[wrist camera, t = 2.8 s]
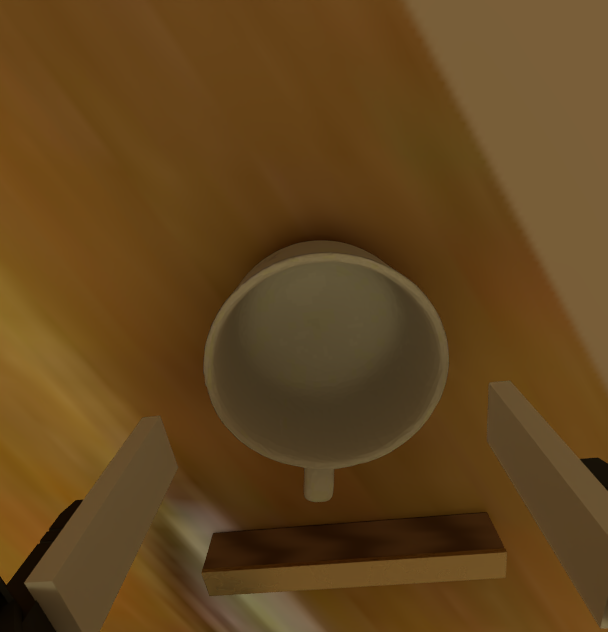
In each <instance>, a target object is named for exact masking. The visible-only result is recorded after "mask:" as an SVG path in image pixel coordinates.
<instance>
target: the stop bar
mask: <svg viewBox="0 0 608 632" xmlns="http://www.w3.org/2000/svg"><path fill="white" fill-rule="evenodd" d="M506 561H507V551H506V549H505V548H504V546H503V544H502V542H501V540H500V538H499V536H498V534H497V532H496V530H495V528H494V526H493V524H492V522H491V520H490V518H489V516H488V514H487V512H486V513H473V514H460V515H447V516H434V517H421V518H408V519H395V520H382V521H369V522H356V523H343V524H330V525H317V526H304V527H291V528H278V529H264V530H251V531H238V532H225V533H213V536H212V539H211V543H210V546H209V550H208V553H207V556H206V560H205V563H204V567H203V569H202V572H201V573H202V576H203V579H204V582H205V584H206V587H207V590H208V593H209V596H218V595H234V594H251V593H267V592H283V591H299V590H316V589H332V588H348V587H364V586H380V585H397V584H413V583H429V582H445V581H462V580H478V579H494V578H506Z"/></svg>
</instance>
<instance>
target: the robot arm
mask: <svg viewBox="0 0 608 632" xmlns="http://www.w3.org/2000/svg"><path fill="white" fill-rule="evenodd" d="M487 442H488V444H489V445H490V447H491V449H492V450H493V452H494V454H495V455H496V457H497V458H498V460H499V462H500V463H501V465H502V467H503V468H504V470H505V472H506V473H507V475H508V477H509V478H510V480H511V482H512V483H513V485H514V487H515V488H516V490H517V492H518V493H519V495H520V496H521V498H522V500H523V501H524V503H525V505H526V506H527V508H528V510H529V511H530V513H531V515H532V516H533V518H534V520H535V521H536V523H537V525H538V526H539V528H540V530H541V531H542V533H543V535H544V536H545V538H546V539H547V541H548V543H549V544H550V546H551V548H552V549H553V551H554V553H555V554H556V556H557V558H558V559H559V561H560V563H561V564H562V566H563V568H564V569H565V571H566V573H567V574H568V576H569V578H570V579H571V581H572V582H573V584H574V586H575V587H576V589H577V591H578V592H579V594H580V596H581V597H582V599H583V601H584V602H585V604H586V606H587V607H588V609H589V611H590V612H591V614H592V616H593V617H594V619H595V620H596V622H597V624H598V625H599V627H600V628H608V464H607V463H606V462H604V461H603V460H601V459H599V458H587V459H579V458H578V457H577V456H576V455H575V454H574V452H573V451H572V450H571V449H570V448H569V447H568V446H567V445H566V443H565V442H564V441H563V440H562V439H561V438H560V437H559V435H558V434H557V433H556V432H555V431H554V430H553V429H552V428H551V426H550V425H549V424H548V423H547V422H546V421H545V420H544V419H543V417H542V416H541V415H540V414H539V413H538V412H537V411H536V410H535V408H534V407H533V406H532V405H531V404H530V403H529V402H528V400H527V399H526V398H525V397H524V396H523V395H522V394H521V393H520V391H519V390H518V389H517V388H516V387H515V386H514V385H513V384H512V382H511V381H501V382H491V383H489V395H488V423H487ZM177 469H178V466H177V463H176V460H175V457H174V454H173V451H172V448H171V446H170V443H169V440H168V437H167V434H166V431H165V428H164V425H163V423H162V420H161V417H160V416H153V417H143V418H142V419H141V420H140V422H139V423H138V425H137V426H136V427H135V429H134V430H133V432H132V433H131V434H130V436H129V437H128V439H127V440H126V441H125V443H124V444H123V446H122V447H121V448H120V450H119V451H118V453H117V454H116V455H115V457H114V458H113V459H112V461H111V462H110V464H109V465H108V466H107V468H106V469H105V471H104V472H103V473H102V475H101V476H100V478H99V479H98V480H97V482H96V483H95V485H94V486H93V487H92V489H91V490H90V492H89V493H88V494H87V496H86V497H85V499H84V500H76V501H75V502H73V503H72V504H71V505H70V506H69V507H68V508H67V509H65V510H64V511H63V512H62V513H61V514H60V515H59V516H58V518H57V519H56V520H55V522H54V523H53V524H52V526H51V527H50V528H49V532H46V534H45V535H44V536H43V538H42V539H41V540H40V544H37V546H36V547H35V548H34V550H33V551H32V552H31V553H30V555H29V556H28V557H27V559H26V560H25V561H24V563H23V564H22V565H21V567H20V568H19V569H18V571H17V572H16V573H15V575H14V576H13V577H12V579H11V580H10V581H9V583H8V584H7V585H6V584H5V583H4V581H3V580H2V578H1V577H0V632H99V631H100V629H101V627H102V625H103V623H104V621H105V619H106V617H107V615H108V613H109V611H110V609H111V606H112V604H113V602H114V600H115V598H116V596H117V594H118V592H119V590H120V588H121V586H122V583H123V581H124V579H125V577H126V575H127V573H128V571H129V569H130V567H131V565H132V563H133V561H134V558H135V556H136V554H137V552H138V550H139V548H140V546H141V544H142V542H143V540H144V538H145V535H146V533H147V531H148V529H149V527H150V525H151V523H152V521H153V519H154V517H155V515H156V513H157V510H158V508H159V506H160V504H161V502H162V500H163V498H164V496H165V494H166V492H167V490H168V488H169V485H170V483H171V481H172V479H173V477H174V475H175V473H176V471H177Z"/></svg>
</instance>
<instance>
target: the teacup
mask: <svg viewBox="0 0 608 632" xmlns="http://www.w3.org/2000/svg"><path fill="white" fill-rule="evenodd" d="M204 350H205V354H204V370H203V373H204V376H205V385H206V387H207V388H208V394H209V395H210V399H211V403H212V405H213V406H214V409H215V411H216V413H217V414H218V416H219V418H220V419H221V421H222V422H223V424H224V425H225V426H226V427H227V428H228V429H229V430H230V431H231V432H232V433H233V435H234V436H235V437H236V438H237V439H239V440H240V441H241V442H242V443H244V444H245V445H246V446H247V447H249V448H250V449H252V450H254V451H256V452H257V453H259V454H261V455H263V456H265V457H267V458H270V459H272V460H275V461H278V462H281V463H285V464H289V465H293V466H298V467H303V468H304V496H305V498H306V499H307V500H309V501H312V502H325V501H328V500H330V499H331V497H332V495H333V488H334V469H338V468H344V467H349V466H354V465H357V464H360V463H365V462H368V461H371V460H374V459H377V458H380V457H382V456H384V455H386V454H388V453H390V452H391V451H393V450H394V449H396V448H397V447H399V446H401V445H402V444H404V443H405V442H406V441H407V440H409V439H410V438H411V437H412V436H413V435H414V434H415V433H416V432H417V431H418V430H419V429H420V428H421V427H422V426H423V425H424V423H425V422H426V421H427V420H428V418H429V417H430V415H431V414H432V412H433V410H434V409H435V407H436V405H437V403H438V402H439V400H440V398H441V396H442V393H443V390H444V387H445V384H446V380H447V375H448V367H449V353H448V343H447V338H446V333H445V331H444V328H443V325H442V322H441V319H440V317H439V315H438V313H437V312H436V310H435V308H434V307H433V305H432V304H431V302H430V301H429V299H428V298H427V296H426V295H425V294H424V293H423V292H422V291H421V290H420V289H419V288H418V286H417V285H415V284H414V283H413V282H412V281H410V280H409V279H408V278H406V277H405V276H403V275H402V274H400V273H399V272H397V271H396V270H394V269H393V268H391V267H390V266H388V265H387V264H386V263H384V262H383V261H382V260H380V259H379V258H377V257H376V256H374V255H372V254H371V253H369V252H367V251H365V250H363V249H361V248H358V247H356V246H353V245H350V244H346V243H342V242H337V241H327V240H316V241H306V242H301V243H297V244H293V245H290V246H288V247H285V248H282V249H280V250H278V251H276V252H274V253H273V254H271V255H269V256H268V257H266V258H265V259H263V260H262V261H261V262H259V263H258V264H257V265H256V266H255V267H254V268H253V269H252V270H251V271H250V272H249V273H248V274H247V275H246V276H245V278H244V279H243V280H242V281H241V283H240V284H239V285H238V287H237V288H236V290H235V291H234V292H233V293H232V294H231V295H230V296H229V298H228V299H227V300H226V301H225V303H224V304H223V305H222V307H221V308H220V310H219V312H218V314H217V315H216V318H215V319H214V321H213V323H212V325H211V328H210V331H209V334H208V337H207V341H206V345H205V348H204Z"/></svg>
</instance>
